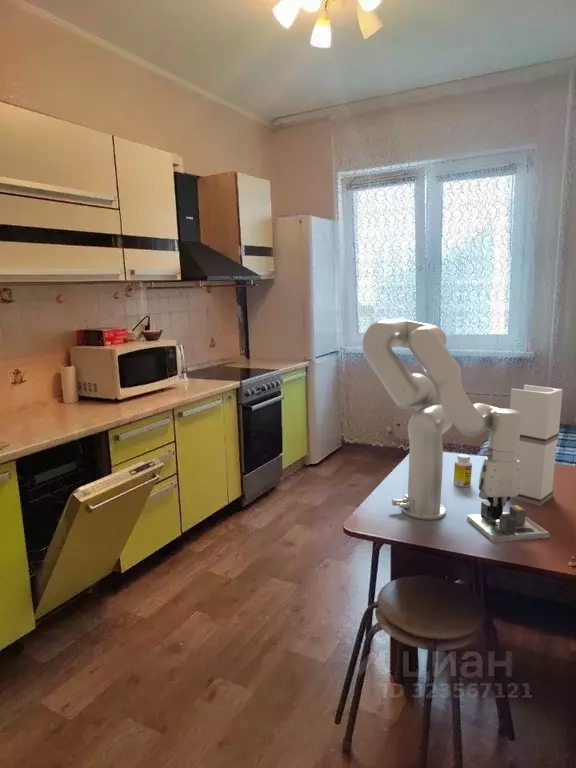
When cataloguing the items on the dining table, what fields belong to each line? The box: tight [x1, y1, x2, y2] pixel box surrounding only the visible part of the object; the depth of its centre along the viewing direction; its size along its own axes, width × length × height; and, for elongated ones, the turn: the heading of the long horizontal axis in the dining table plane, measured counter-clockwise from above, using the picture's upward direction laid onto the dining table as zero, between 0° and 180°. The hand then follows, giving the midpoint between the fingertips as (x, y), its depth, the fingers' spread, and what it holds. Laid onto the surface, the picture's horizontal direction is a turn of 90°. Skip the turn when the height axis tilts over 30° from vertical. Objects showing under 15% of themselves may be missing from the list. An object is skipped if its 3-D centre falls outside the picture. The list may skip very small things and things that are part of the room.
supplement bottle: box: [453, 453, 473, 488], centre depth 178 cm, size 6×6×10 cm
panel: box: [466, 500, 550, 543], centre depth 145 cm, size 16×14×6 cm
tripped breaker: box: [508, 504, 527, 524], centre depth 146 cm, size 3×3×4 cm
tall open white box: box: [509, 384, 564, 507], centre depth 166 cm, size 11×11×35 cm
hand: (495, 517), depth 146 cm, fingers closed
